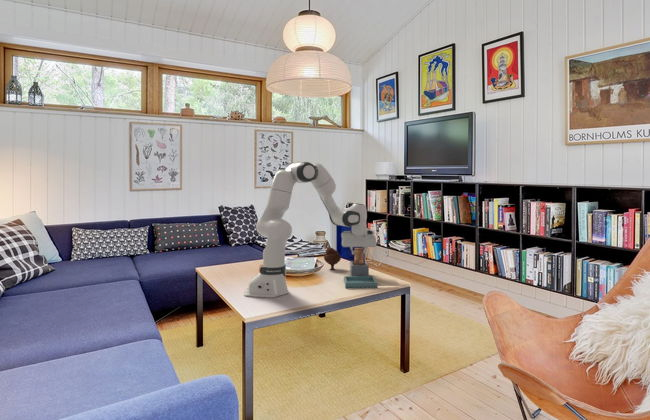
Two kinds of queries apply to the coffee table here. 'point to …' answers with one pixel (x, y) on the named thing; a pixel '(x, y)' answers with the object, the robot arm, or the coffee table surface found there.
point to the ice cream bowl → (332, 257)
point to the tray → (360, 282)
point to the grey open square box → (359, 269)
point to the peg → (358, 256)
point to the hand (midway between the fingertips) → (358, 254)
